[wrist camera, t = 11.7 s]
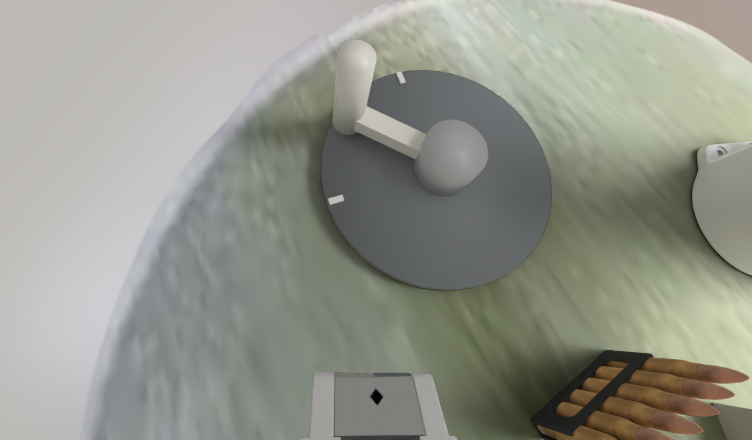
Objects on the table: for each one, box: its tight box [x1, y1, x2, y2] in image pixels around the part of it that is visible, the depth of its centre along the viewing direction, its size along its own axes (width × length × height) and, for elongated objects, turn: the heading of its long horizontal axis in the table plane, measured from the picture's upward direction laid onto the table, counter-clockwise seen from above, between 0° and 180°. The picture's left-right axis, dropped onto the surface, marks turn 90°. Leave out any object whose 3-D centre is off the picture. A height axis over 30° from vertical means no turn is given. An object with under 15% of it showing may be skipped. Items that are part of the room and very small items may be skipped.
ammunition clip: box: [531, 350, 749, 440], centre depth 28 cm, size 11×2×12 cm, turn 123°
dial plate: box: [321, 70, 552, 291], centre depth 37 cm, size 24×24×2 cm
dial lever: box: [333, 40, 488, 196], centre depth 32 cm, size 15×6×9 cm, turn 67°
